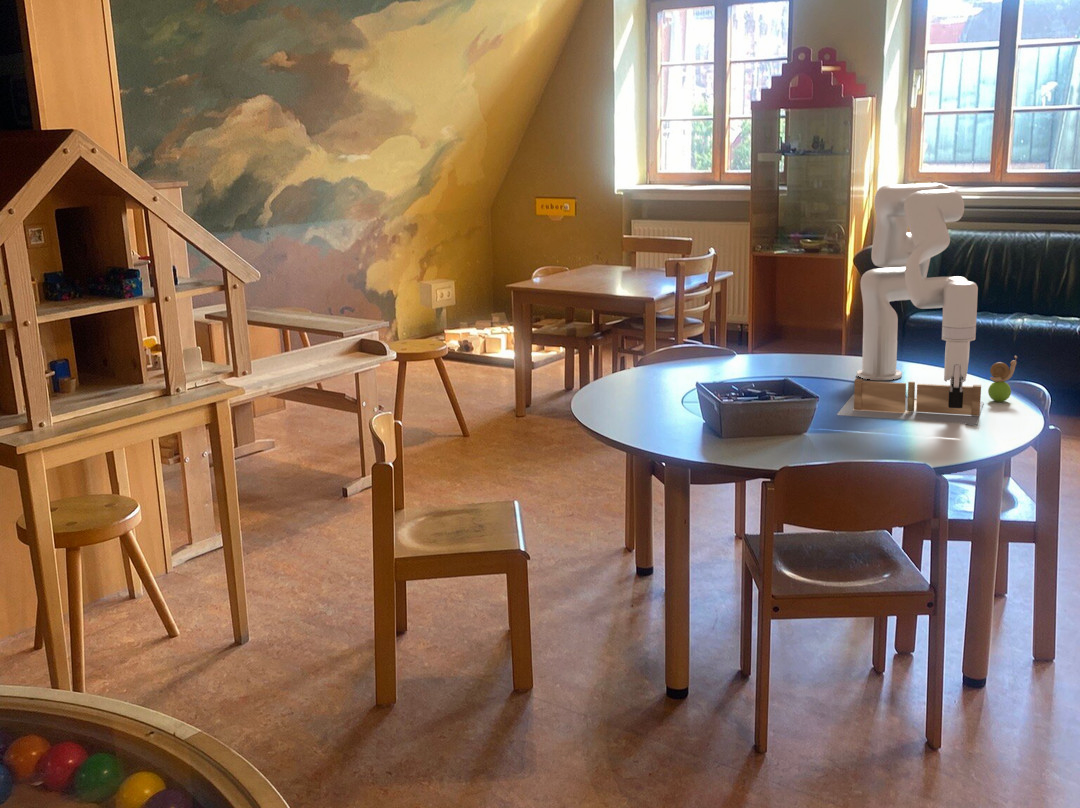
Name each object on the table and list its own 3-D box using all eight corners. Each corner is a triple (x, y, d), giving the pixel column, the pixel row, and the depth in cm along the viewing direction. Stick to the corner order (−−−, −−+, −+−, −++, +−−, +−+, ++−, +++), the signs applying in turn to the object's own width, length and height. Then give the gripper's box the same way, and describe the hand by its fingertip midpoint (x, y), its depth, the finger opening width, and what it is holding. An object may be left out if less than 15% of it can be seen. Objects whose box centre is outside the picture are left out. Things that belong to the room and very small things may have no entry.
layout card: (852, 395, 281) (852, 394, 281) (983, 403, 266) (983, 401, 266) (836, 416, 262) (836, 414, 262) (976, 425, 247) (976, 423, 247)
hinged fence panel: (907, 409, 261) (908, 381, 260) (979, 414, 254) (981, 384, 252) (906, 411, 260) (907, 383, 258) (979, 415, 252) (980, 386, 250)
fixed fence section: (855, 407, 267) (855, 378, 265) (905, 411, 262) (906, 381, 260) (853, 409, 266) (854, 380, 264) (904, 412, 260) (905, 382, 258)
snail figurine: (1016, 404, 264) (1019, 358, 261) (990, 404, 265) (992, 358, 262) (1011, 398, 269) (1014, 353, 266) (985, 399, 270) (987, 354, 267)
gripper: (942, 327, 254) (939, 399, 258) (941, 338, 241) (938, 414, 245) (975, 327, 251) (972, 400, 256) (975, 339, 238) (972, 415, 242)
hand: (955, 407), depth 250 cm, fingers closed
